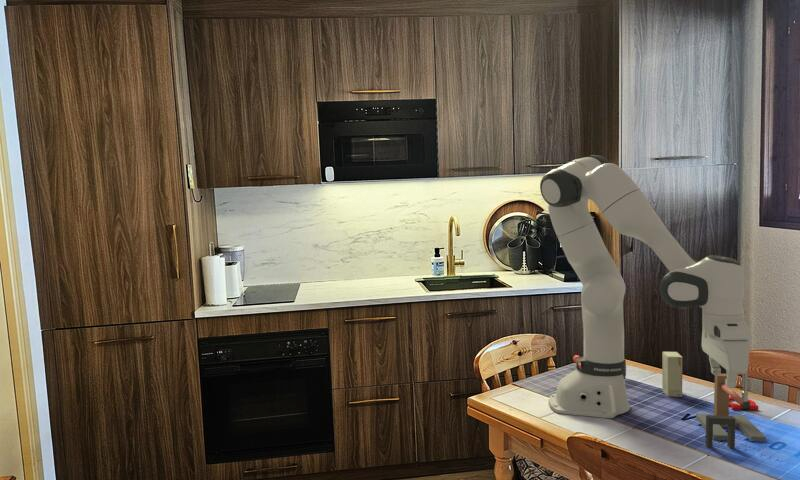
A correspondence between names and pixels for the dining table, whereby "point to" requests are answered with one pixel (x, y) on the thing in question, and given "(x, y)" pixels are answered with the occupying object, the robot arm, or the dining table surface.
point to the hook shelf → (723, 410)
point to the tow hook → (744, 398)
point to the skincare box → (672, 374)
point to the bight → (724, 421)
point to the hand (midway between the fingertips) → (722, 380)
